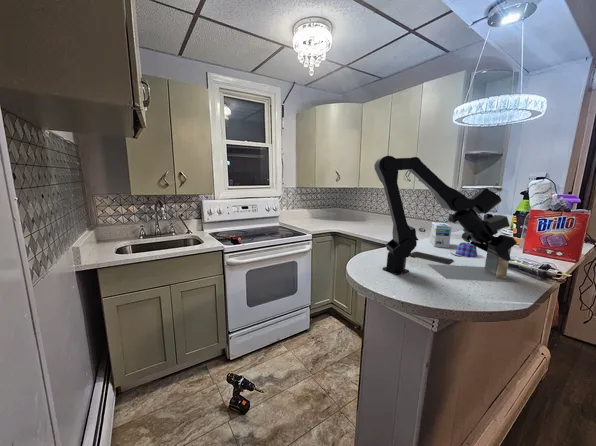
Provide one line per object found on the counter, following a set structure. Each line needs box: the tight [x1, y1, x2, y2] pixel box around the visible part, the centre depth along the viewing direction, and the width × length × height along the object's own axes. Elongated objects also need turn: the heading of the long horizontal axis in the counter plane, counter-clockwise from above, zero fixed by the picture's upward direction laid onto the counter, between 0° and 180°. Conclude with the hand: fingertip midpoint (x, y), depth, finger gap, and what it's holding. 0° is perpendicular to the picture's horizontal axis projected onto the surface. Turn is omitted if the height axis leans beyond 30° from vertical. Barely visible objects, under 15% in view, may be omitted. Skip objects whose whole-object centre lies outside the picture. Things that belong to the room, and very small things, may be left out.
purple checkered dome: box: [450, 242, 484, 259], centre depth 108 cm, size 12×12×5 cm
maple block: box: [484, 247, 512, 278], centre depth 83 cm, size 3×6×12 cm, turn 176°
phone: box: [408, 251, 454, 265], centre depth 101 cm, size 8×1×15 cm
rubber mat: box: [427, 263, 520, 283], centre depth 86 cm, size 22×14×1 cm, turn 86°
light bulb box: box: [429, 221, 453, 249], centre depth 124 cm, size 11×7×11 cm, turn 164°
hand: (501, 257), depth 83 cm, fingers closed on maple block, 6 cm apart
